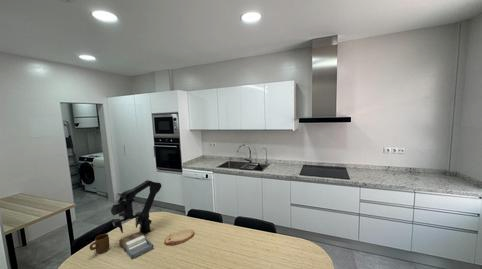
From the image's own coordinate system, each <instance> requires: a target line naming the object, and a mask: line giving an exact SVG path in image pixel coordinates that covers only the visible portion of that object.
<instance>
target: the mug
mask: <svg viewBox="0 0 482 269" xmlns="http://www.w3.org/2000/svg"><path fill="white" fill-rule="evenodd" d="M93 246H94V247H93ZM109 249H110V237H109V234H108V233H103V234H99V235H97V236H96V237H95V239H94V241H93V242H92V243H91V244H89V250H90V251H95V252H96V254H100V255H101V254H103V253H105V252H108V251H109Z"/></svg>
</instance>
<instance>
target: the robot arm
mask: <svg viewBox="0 0 482 269" xmlns="http://www.w3.org/2000/svg"><path fill="white" fill-rule="evenodd" d="M147 188H149V194H148V196H147V199H146V201H145V203H144V206H143V208H142V210H141V211H138V212H135V213H134V207H133V202H135V201H136V200H135V199H134V198H135V197H136V196H137V194H139V193H140V192H142V191H144V190H145V189H147ZM161 188H162V183H161V182H157V181H152V180H147V179H146V180H145V181H143V182H142V183H140V184H139V185H137V186H135V187H133V188H132V189H127V190H124V191H123V192H121V195H120V197H119V199H118V201H117V203H116V204H115V203H114V204H113V205H112V207H111V208H110V213H111V215H112V216H116V215H117V216H118V217H122V218H121V219H120V218H116V219H114V220H113V221H112V225H113V227H115V228H119V229H120V232H121V234H123V233H124V229H123V224H122V223H125V222H127V221H129V220H133V219H135V228H138V225H139V232H141V233H142V234H144V235H145V234H148V233H150V232H152V229H151V224H152V222H153V221H152V220H151V219H150V210H151V208H152V206H153V203H154V200H155V198H156V195H157V194H158V193H159V192H160V190H161Z"/></svg>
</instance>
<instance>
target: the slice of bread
mask: <svg viewBox="0 0 482 269" xmlns="http://www.w3.org/2000/svg"><path fill="white" fill-rule="evenodd" d="M194 236H195V231H194V230H193V229H186V230H185V229H184V230H180V231H177V232H174V233H170V234H169V235H167V236H166V237H165V239H164V243H163V244H164V246H165V245H166V246H177V245H180V244H184V243H185V242H188V241H190V239H192V238H193V237H194Z"/></svg>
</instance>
